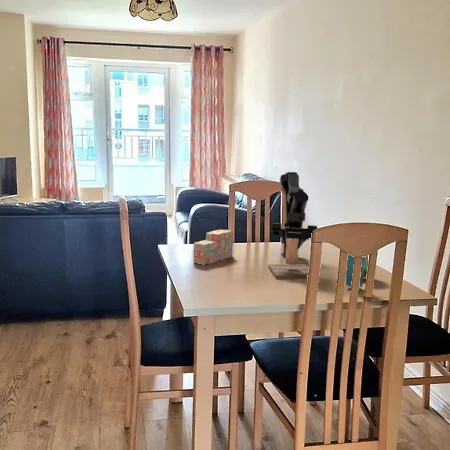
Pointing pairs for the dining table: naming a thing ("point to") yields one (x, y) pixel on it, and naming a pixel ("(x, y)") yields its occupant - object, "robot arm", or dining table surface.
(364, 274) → the food container
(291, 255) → the terracotta cylinder
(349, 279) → the beverage bottle
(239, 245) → the dining table surface
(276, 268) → the tan flat square block
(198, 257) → the stack of blocks
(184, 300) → the dining table surface
